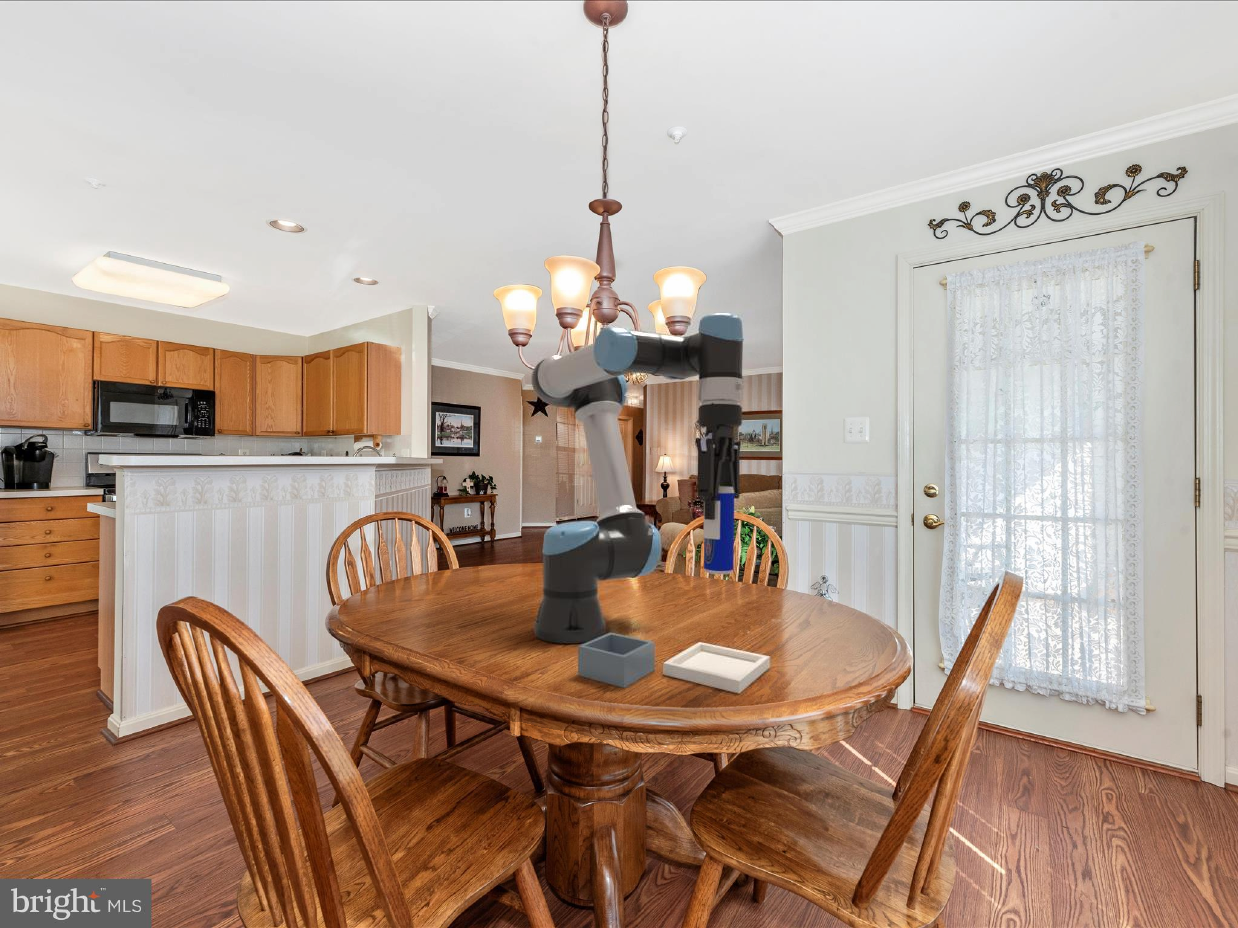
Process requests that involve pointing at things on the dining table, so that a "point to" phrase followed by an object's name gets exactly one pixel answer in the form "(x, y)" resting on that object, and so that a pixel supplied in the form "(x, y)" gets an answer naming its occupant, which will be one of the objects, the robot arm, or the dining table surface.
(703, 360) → the robot arm
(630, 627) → the dining table surface
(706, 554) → the beverage can
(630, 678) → the holder sleeve
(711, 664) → the tray
